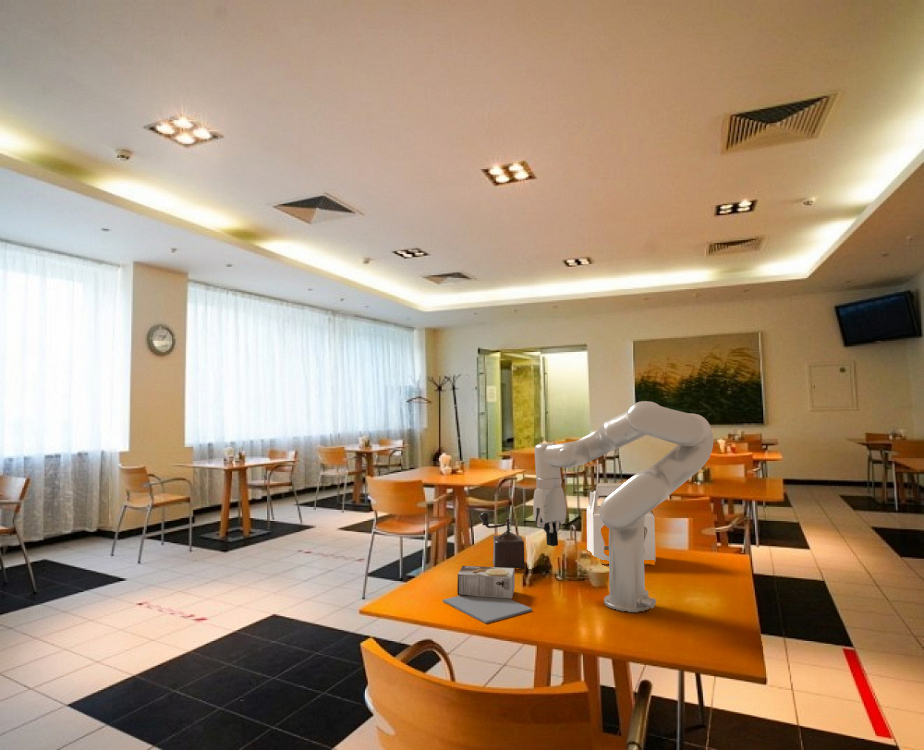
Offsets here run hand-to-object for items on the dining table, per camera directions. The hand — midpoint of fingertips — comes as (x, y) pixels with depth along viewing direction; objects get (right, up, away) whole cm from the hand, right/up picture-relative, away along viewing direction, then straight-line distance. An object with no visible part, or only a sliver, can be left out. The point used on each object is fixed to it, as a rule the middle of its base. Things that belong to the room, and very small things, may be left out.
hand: (552, 545), depth 166 cm
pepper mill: (-14, -16, +28) cm, 35 cm away
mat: (-21, -13, -13) cm, 28 cm away
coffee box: (-12, -10, -5) cm, 16 cm away
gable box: (+31, -17, +35) cm, 49 cm away
